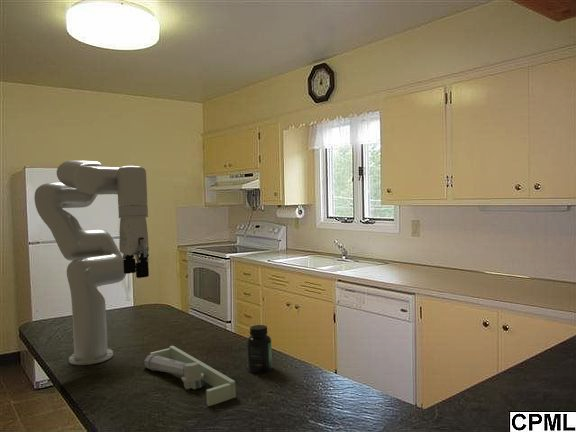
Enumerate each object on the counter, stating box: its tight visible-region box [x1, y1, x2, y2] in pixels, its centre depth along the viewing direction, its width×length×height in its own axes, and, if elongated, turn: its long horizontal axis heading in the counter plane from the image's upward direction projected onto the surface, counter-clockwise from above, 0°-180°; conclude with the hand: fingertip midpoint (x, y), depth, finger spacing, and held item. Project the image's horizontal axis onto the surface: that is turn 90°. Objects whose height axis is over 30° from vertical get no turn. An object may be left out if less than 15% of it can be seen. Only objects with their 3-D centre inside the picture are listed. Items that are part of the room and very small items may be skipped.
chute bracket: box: [149, 345, 237, 407], centre depth 123 cm, size 36×7×4 cm, turn 38°
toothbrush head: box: [142, 354, 205, 390], centre depth 125 cm, size 5×7×25 cm
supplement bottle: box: [246, 324, 273, 374], centre depth 129 cm, size 7×7×12 cm
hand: (136, 275), depth 124 cm, fingers open, 9 cm apart
